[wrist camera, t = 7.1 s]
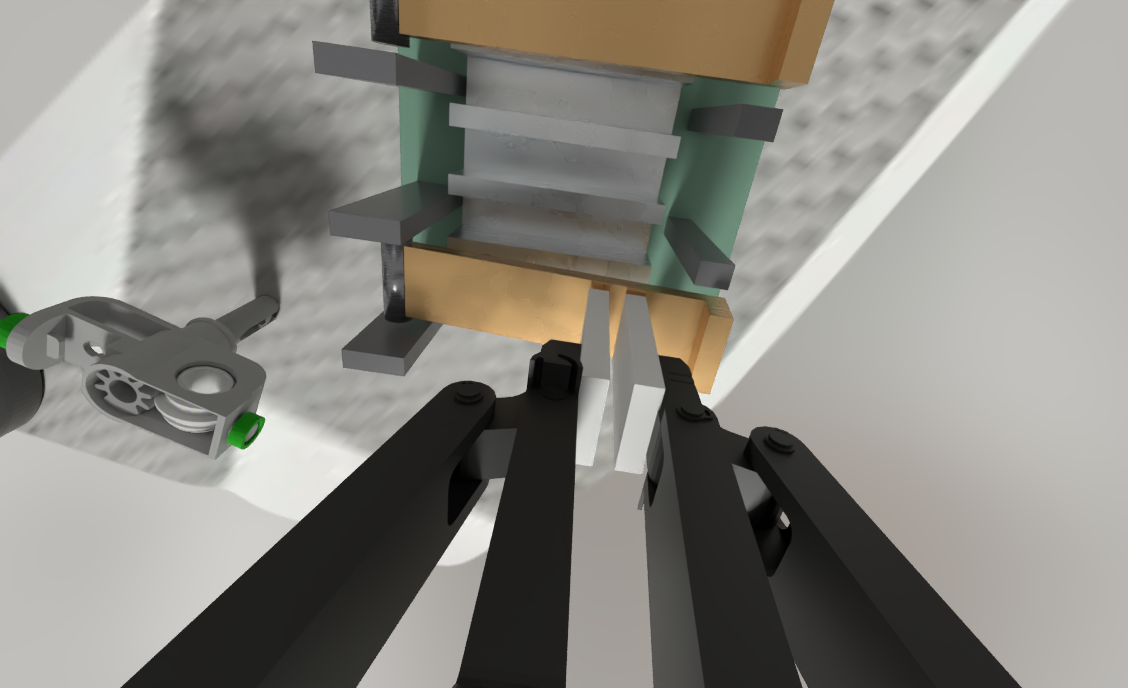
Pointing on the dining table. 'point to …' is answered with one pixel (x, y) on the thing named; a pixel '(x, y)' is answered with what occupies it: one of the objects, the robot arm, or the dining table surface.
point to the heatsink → (563, 160)
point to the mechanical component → (153, 366)
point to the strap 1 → (628, 33)
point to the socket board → (689, 183)
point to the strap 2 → (545, 302)
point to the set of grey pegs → (427, 202)
